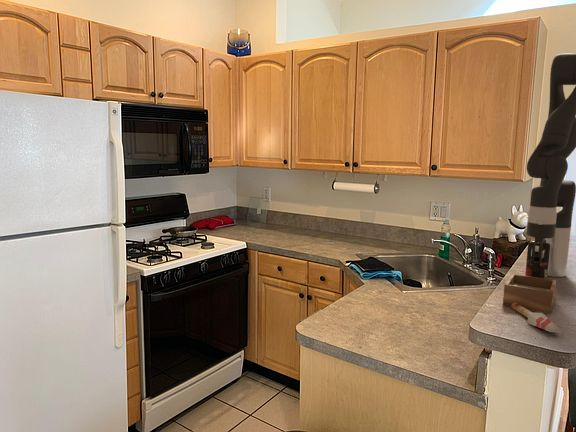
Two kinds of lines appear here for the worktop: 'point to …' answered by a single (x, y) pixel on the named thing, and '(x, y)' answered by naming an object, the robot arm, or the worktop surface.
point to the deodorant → (544, 261)
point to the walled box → (530, 293)
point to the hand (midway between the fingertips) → (536, 274)
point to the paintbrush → (536, 319)
